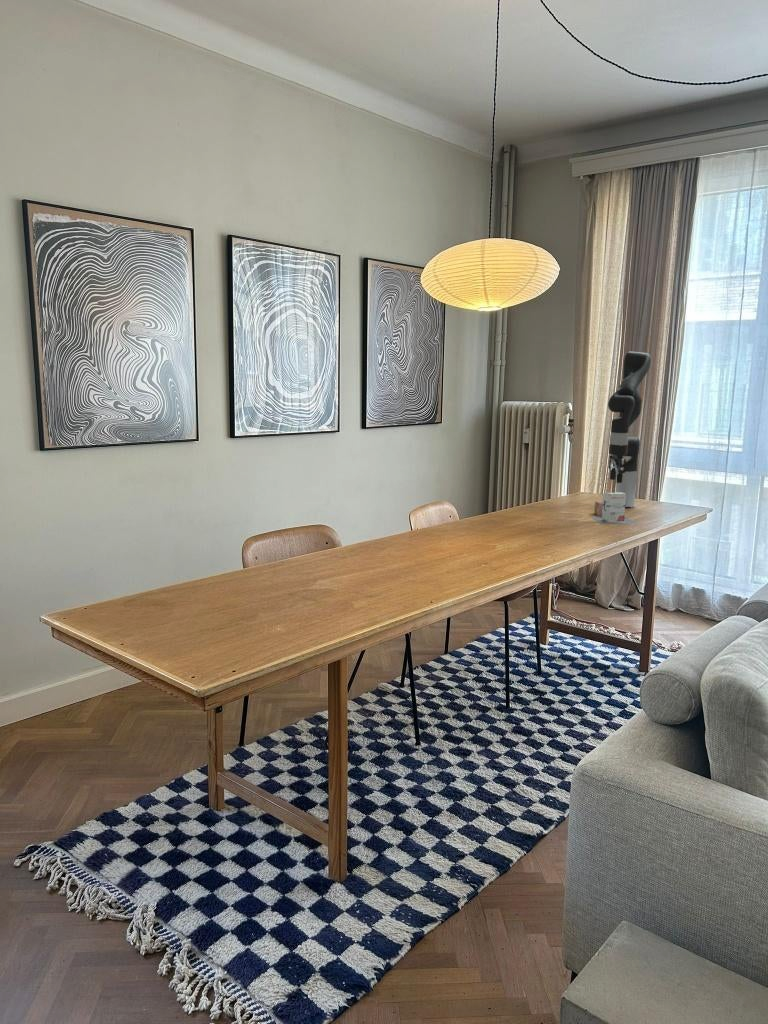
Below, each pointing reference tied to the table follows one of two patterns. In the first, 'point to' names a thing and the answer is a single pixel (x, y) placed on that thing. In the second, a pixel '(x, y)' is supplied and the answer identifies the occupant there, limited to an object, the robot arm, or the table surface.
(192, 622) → the table surface
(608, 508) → the ink box
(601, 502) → the painted cube
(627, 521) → the letter card
